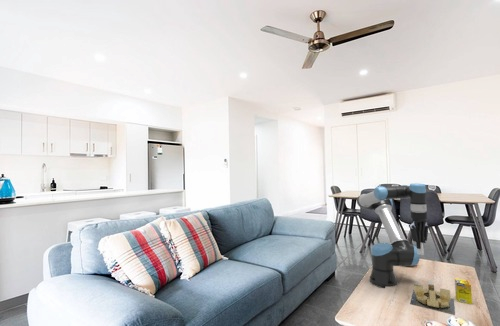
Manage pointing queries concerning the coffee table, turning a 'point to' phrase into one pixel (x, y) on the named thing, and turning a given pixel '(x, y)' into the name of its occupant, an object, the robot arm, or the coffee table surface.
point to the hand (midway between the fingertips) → (420, 254)
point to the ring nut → (432, 296)
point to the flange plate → (446, 309)
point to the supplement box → (463, 291)
